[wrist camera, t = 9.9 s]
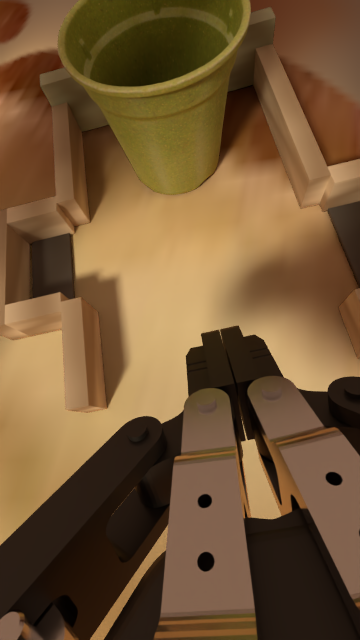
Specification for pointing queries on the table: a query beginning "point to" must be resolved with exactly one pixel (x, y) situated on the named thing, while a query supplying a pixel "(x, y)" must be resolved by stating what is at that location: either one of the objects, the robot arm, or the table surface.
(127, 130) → the plant pot
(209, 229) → the table surface
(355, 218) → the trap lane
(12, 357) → the table surface
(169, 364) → the table surface
